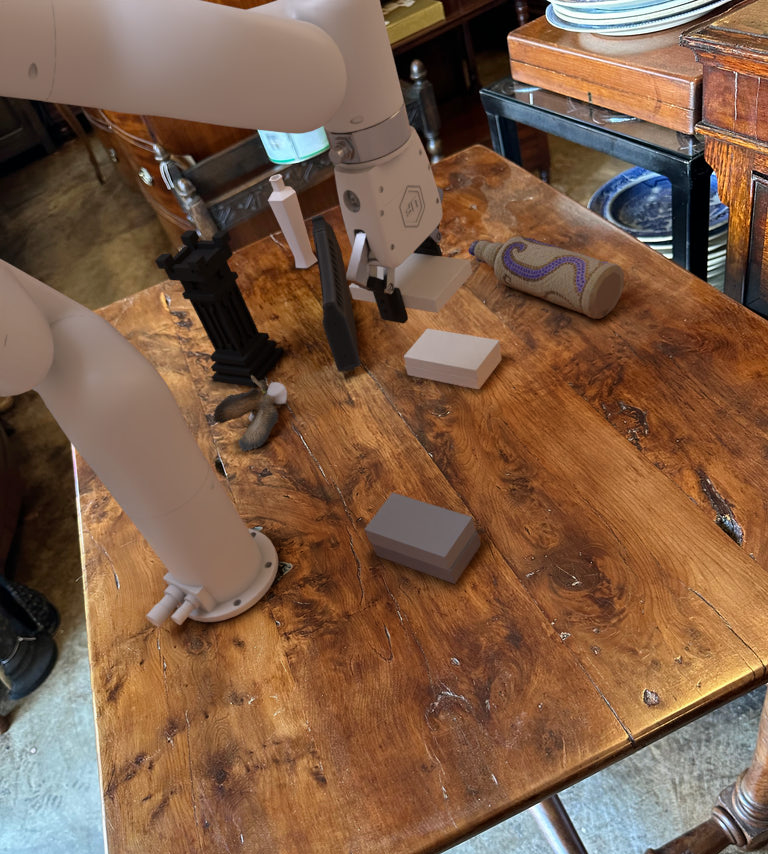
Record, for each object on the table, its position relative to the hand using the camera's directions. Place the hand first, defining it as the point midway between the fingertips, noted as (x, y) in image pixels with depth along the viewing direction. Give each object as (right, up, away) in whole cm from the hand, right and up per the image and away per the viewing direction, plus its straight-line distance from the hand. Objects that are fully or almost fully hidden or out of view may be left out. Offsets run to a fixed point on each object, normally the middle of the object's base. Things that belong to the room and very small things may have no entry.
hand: (414, 297), depth 84 cm
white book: (0, +1, -1) cm, 1 cm away
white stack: (+6, -4, +20) cm, 21 cm away
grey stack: (+1, -27, 0) cm, 27 cm away
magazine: (-9, +6, +35) cm, 37 cm away
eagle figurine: (-20, -12, +22) cm, 32 cm away
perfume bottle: (-16, +19, +49) cm, 56 cm away
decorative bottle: (+20, +9, +27) cm, 34 cm away
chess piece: (-23, -2, +33) cm, 40 cm away
